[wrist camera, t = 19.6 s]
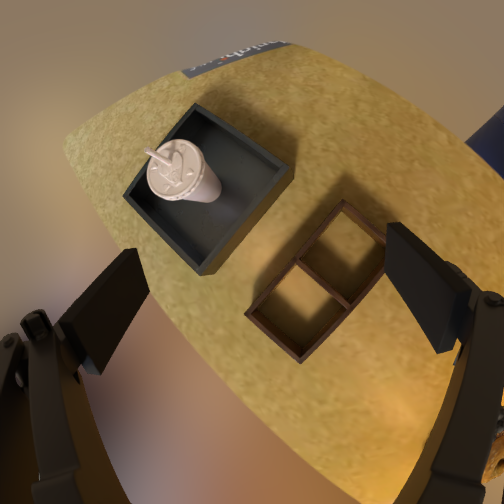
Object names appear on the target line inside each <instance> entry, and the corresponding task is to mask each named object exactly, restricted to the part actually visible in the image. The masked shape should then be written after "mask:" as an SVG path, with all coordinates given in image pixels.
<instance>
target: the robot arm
mask: <svg viewBox="0 0 504 504" xmlns="http://www.w3.org/2000/svg"><path fill="white" fill-rule="evenodd" d="M384 272H385V273H386V275H387V276H388V278H389V279H390V281H391V282H392V284H393V285H394V286H395V288H396V289H397V291H398V292H399V294H400V295H401V297H402V298H403V300H404V301H405V303H406V304H407V306H408V308H409V309H410V311H411V312H412V314H413V315H414V317H415V319H416V320H417V322H418V323H419V325H420V327H421V328H422V330H423V331H424V333H425V335H426V336H427V338H428V340H429V341H430V343H431V345H432V346H433V348H434V350H435V352H436V353H437V354H439V353H443V352H447V351H450V350H453V347H454V345H455V342H456V339H457V338H458V339H459V341H460V342H461V347H460V349H459V352H458V354H457V356H456V359H455V361H454V363H453V365H455V367H454V370H453V374H452V377H451V380H450V383H449V386H448V389H447V392H446V395H445V398H444V401H443V404H442V406H441V409H440V412H439V414H438V417H437V419H436V422H435V424H434V427H433V429H432V431H431V434H430V436H429V438H428V440H427V443H426V445H425V447H424V449H423V451H422V453H421V455H420V457H419V459H418V461H417V463H416V465H415V467H414V469H413V471H412V473H411V475H410V476H409V478H408V480H407V482H406V483H405V485H404V487H403V489H402V490H401V492H400V494H399V495H398V497H397V498H396V500H395V501H394V503H393V504H482V503H483V500H484V496H485V493H486V492H485V487H484V486H483V485H482V484H481V480H482V476H483V473H484V470H485V467H486V464H487V461H488V458H489V454H490V451H491V447H492V443H493V439H494V435H495V431H496V427H497V422H498V417H499V412H500V407H501V401H502V395H503V387H504V298H503V297H502V296H501V295H499V294H498V293H495V292H492V291H482V290H481V289H480V288H479V287H478V286H477V285H476V284H475V283H474V282H473V281H472V280H471V279H470V278H467V276H466V275H465V274H464V273H462V271H461V270H460V269H459V268H458V267H457V266H456V265H454V264H452V263H450V262H448V261H444V260H443V259H441V258H440V257H439V256H438V255H437V254H436V253H435V252H434V251H433V250H432V249H431V248H429V247H428V246H427V245H426V244H425V243H424V242H423V241H422V240H420V239H419V238H418V237H417V236H416V235H415V234H414V233H412V232H411V231H410V230H409V229H408V228H407V227H405V226H404V225H403V224H402V223H401V222H393V223H387V233H386V250H385V262H384ZM149 292H150V290H149V287H148V284H147V281H146V278H145V275H144V271H143V268H142V265H141V262H140V258H139V255H138V251H137V248H130V249H124V250H123V251H122V252H121V253H120V254H119V255H118V257H116V258H115V259H114V261H113V262H112V263H111V264H110V265H109V266H108V267H107V268H106V269H105V270H104V271H103V272H102V273H101V274H100V275H99V276H98V277H97V278H96V279H95V280H94V281H93V283H92V284H91V285H90V286H89V287H88V288H87V289H86V290H85V291H84V292H83V294H82V295H81V296H80V297H79V298H78V299H76V300H75V301H74V303H73V304H72V305H71V307H69V308H68V309H67V311H66V312H65V313H64V314H63V315H62V317H61V318H60V319H59V320H58V321H57V322H56V323H55V325H54V326H52V324H51V323H50V320H49V318H48V317H47V315H46V313H45V311H44V310H42V309H38V310H35V311H32V312H31V313H29V314H27V315H26V316H25V317H24V318H23V319H22V320H21V323H20V325H21V327H22V328H23V330H24V332H25V334H26V336H27V337H28V339H29V341H24V342H22V340H21V338H20V336H19V335H18V333H11V334H8V335H6V336H4V337H3V339H2V340H1V341H0V504H131V503H130V501H129V499H128V498H127V496H126V494H125V492H124V490H123V488H122V486H121V484H120V482H119V479H118V477H117V475H116V473H115V471H114V469H113V466H112V464H111V462H110V459H109V457H108V455H107V452H106V450H105V447H104V445H103V442H102V440H101V437H100V434H99V431H98V429H97V426H96V423H95V420H94V417H93V414H92V411H91V408H90V405H89V401H88V398H87V395H86V391H85V388H84V384H83V380H82V376H81V374H80V372H79V371H78V367H79V366H80V364H82V366H83V367H84V369H85V371H86V372H87V373H88V374H94V375H101V374H102V372H103V371H104V369H105V367H106V365H107V363H108V362H109V360H110V358H111V356H112V354H113V353H114V351H115V349H116V347H117V346H118V344H119V342H120V340H121V339H122V337H123V335H124V334H125V332H126V330H127V329H128V327H129V325H130V323H131V322H132V320H133V318H134V317H135V315H136V313H137V312H138V310H139V309H140V307H141V305H142V304H143V302H144V300H145V299H146V297H147V295H148V294H149ZM15 375H16V376H17V378H18V379H19V380H20V382H21V385H20V386H19V385H18V384H17V382H16V379H15ZM39 473H40V481H39ZM502 504H504V489H503V497H502Z"/></svg>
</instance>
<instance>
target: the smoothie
mask: <svg viewBox="0 0 504 504" xmlns="http://www.w3.org/2000/svg"><path fill="white" fill-rule="evenodd" d="M144 151H145V152H146V153H147V154H149V155H151V156H152V157H151V159H150V162H149V164H148V168H147V181H148V184H149V187H150V188H151V190H152V191H153V192H154V193H155V194H156V195H158V196H160V197H161V198H163V199H166V200H172V201H174V200H180V199H185V200H192V201H199V202H205V203H209V202H212V201H214V200H216V199H217V198H218V197H219V195H220V193H221V190H222V185H221V182H220V180H219V179H218V177H217V176H216V175H215V173H214V172H213V171H212V169H211V168H210V167H209V166H208V164H207V163H206V162H205V160H204V156H203V153H202V152H201V151H200V149H199V148H198V147H197V146H196V145H194V144H193V143H191V142H189V141H187V140H183V139H175V140H171V141H169V142H167V143H165V144H163V145H162V146H161V147H159V148H158V149H157V150H156V151H155V150H153V149H151V148H150V147H146V148H145V150H144Z"/></svg>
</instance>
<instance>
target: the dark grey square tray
mask: <svg viewBox="0 0 504 504" xmlns="http://www.w3.org/2000/svg"><path fill="white" fill-rule="evenodd" d="M175 139H183V140H187V141H189V142H191V143H193V144H194V145H196V146H197V147H198V148H199V149H200V151H201V152H202V153H203V156H204V160H205V162H206V163H207V164H208V166H209V167H210V168H211V169H212V171H213V172H214V173H215V175H216V176H217V177H218V179H219V180H220V182H221V185H222V190H221V193H220V195H219V197H218V198H217V199H216V200H214V201H212V202H209V203H205V202H199V201H192V200H185V199H180V200H174V201H172V200H166V199H163V198H161V197H160V196H158V195H156V194H155V193H154V192H153V191H152V190H151V188H150V187H149V184H148V181H147V168H148V164H149V162H150V159H151V157H152V156H151V157H150V158H149V159H148V161H147V162H146V163H145V165H144V166H143V167H142V169H141V170H140V171H139V173H138V174H137V176H136V177H135V178H134V180H133V181H132V183H131V184H130V186H129V187H128V188H127V190H126V191H125V193H124V194H123V197H124V199H125V200H126V201H127V202H128V203H129V204H130V205H131V206H132V207H133V208H134V209H135V210H136V212H137V213H138V214H139V215H140V216H141V217H142V218H143V219H144V220H145V221H146V222H147V223H148V224H149V225H150V226H151V227H152V228H153V229H154V230H155V231H156V232H157V234H158V235H159V236H160V237H161V238H162V239H163V240H164V241H165V242H166V243H167V244H168V245H169V246H170V247H171V248H172V249H173V250H174V251H175V252H176V253H177V254H178V255H179V256H180V257H181V258H182V259H183V260H184V261H185V262H186V263H187V264H188V265H189V266H190V267H191V268H192V269H193V270H194V271H196V273H197V274H198V275H199V276H205V275H212V274H215V273H216V272H217V271H218V269H219V268H220V267H221V266H222V265H223V263H224V262H225V261H226V260H227V258H228V257H229V256H230V255H231V254H232V252H233V251H234V250H235V249H236V248H237V246H238V245H239V244H240V243H241V242H242V240H243V239H244V238H245V237H246V235H247V234H248V233H249V232H250V231H251V229H252V228H253V227H254V226H255V225H256V223H257V222H258V221H259V220H260V219H261V217H262V216H263V215H264V214H265V213H266V211H267V210H268V209H269V208H270V207H271V206H272V204H273V203H274V202H275V201H276V200H277V198H278V197H279V196H280V195H281V194H282V192H283V191H284V190H285V189H286V188H287V186H288V185H289V184H290V183H291V182H292V181H293V179H294V177H293V174H292V171H291V168H290V167H289V166H288V165H287V164H285V163H284V162H282V161H281V160H280V159H278V158H277V157H276V156H274V155H273V154H271V153H270V152H269V151H267V150H266V149H264V148H263V147H262V146H260V145H259V144H257V143H256V142H255V141H253V140H252V139H250V138H249V137H247V136H246V135H244V134H243V133H242V132H240V131H239V130H237V129H236V128H234V127H233V126H231V125H230V124H228V123H227V122H225V121H224V120H222V119H220V118H219V117H217V116H216V115H214V114H213V113H211V112H210V111H208V110H206V109H205V108H203V107H202V106H200V105H198V104H197V103H194V104H193V105H192V106H191V108H190V109H189V110H188V111H187V112H186V113H185V114H184V116H183V117H182V118H181V119H180V120H179V121H178V123H177V124H176V125H175V126H174V127H173V129H172V130H171V131H170V132H169V134H168V135H167V136H166V137H165V139H164V140H163V141H162V142H161V144H160V145H159V146H158V147H157V149H158V148H159V147H161V146H162V145H163V144H165V143H167V142H169V141H171V140H175ZM157 149H156V150H157ZM156 150H155V151H156Z"/></svg>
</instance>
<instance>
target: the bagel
mask: <svg viewBox="0 0 504 504" xmlns="http://www.w3.org/2000/svg"><path fill="white" fill-rule="evenodd" d="M503 472H504V435H503V436H501V437H500V438H498V439H497V440H495V441H494V442H493V443H492V447H491V451H490V454H489V458H488V461H487V464H486V467H485V470H484V473H483V476H482V480H481V483H487V482H489V481H490V480H491V479H493V478H496V477H498V476H500V475H501V474H502V473H503Z"/></svg>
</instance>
